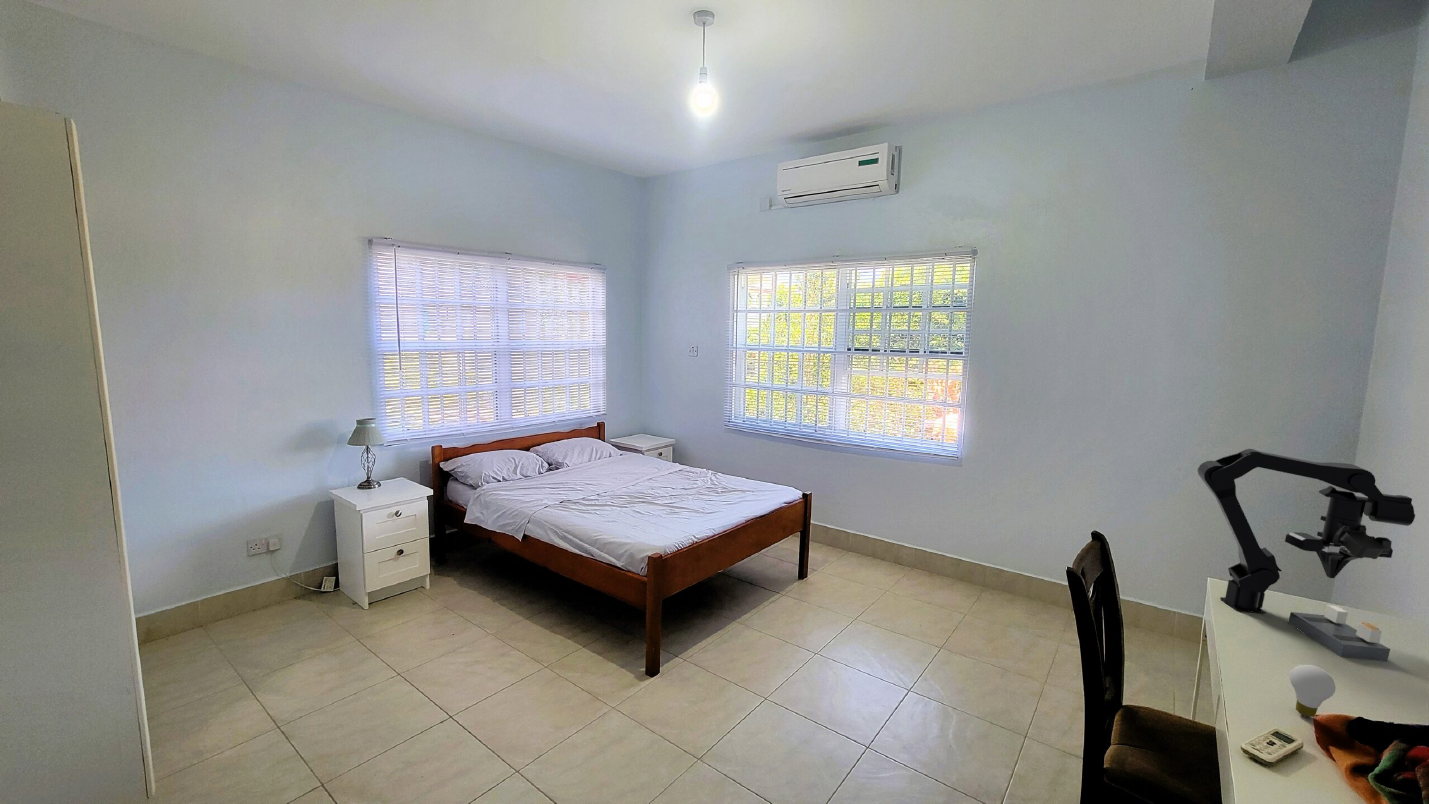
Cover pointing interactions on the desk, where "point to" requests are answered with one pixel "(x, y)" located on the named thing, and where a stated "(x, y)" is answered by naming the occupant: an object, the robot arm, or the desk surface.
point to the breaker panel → (1338, 637)
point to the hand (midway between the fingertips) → (1330, 577)
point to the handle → (1335, 614)
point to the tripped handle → (1369, 632)
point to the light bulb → (1311, 688)
